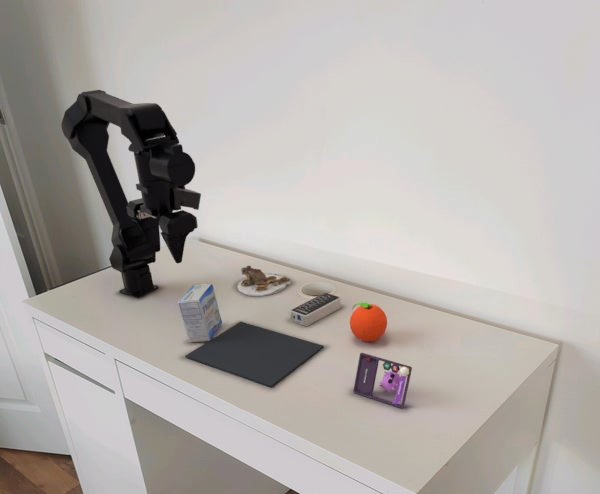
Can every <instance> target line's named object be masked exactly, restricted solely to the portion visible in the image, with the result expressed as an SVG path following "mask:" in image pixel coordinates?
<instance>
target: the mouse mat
mask: <svg viewBox="0 0 600 494" xmlns="http://www.w3.org/2000/svg"><path fill="white" fill-rule="evenodd" d="M324 347H325V346H324V344H323V345H322V344H319V343H316V342H313V341H309V340H306V339H302V338H299V337H296V336H291V335H288V334H285V333H281V332H279V331H274V330H271V329H268V328H264V327H261V326H257V325H254V324H251V323H248V322H244V321H239V322H238V323H236V324H235V325H233V326H231V327H229V328H228V329H226V330H225V331H222V332H221V333H220V334H218V335H216V336H215V337H212V339H211V341H206V342H205V343H204V344H202V345H200V346H198V347H197V348H195V349H194V350H192V351H190V352H189V353H187V354H186V355H185V356H184V357H185V358H186V359H188V360H192V361H194V362H197V363H200V364H203V365H205V366H208V367H211V368H214V369H217V370H220V371H222V372H226V373H228V374H231V375H234V376H237V377H240V378H242V379H245V380H248V381H251V382H254V383H257V384H259V385H262V386H265V387H268V388H273V387H275V386H276V385H277V384H278V383H280V382H282V380H283V379H285V378H286V377H287V376H289V375H290V374H291V373H292V372H294V371H295V370H297V369H298V368H299V367H300V366H301V365H303V364H304V363H306V362H307V361H309V360H310V359H311V358H312V357H314V356H315V355H316V354H318V352H320V351H321V350H323V349H324Z"/></svg>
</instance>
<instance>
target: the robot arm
mask: <svg viewBox="0 0 600 494" xmlns="http://www.w3.org/2000/svg"><path fill="white" fill-rule="evenodd" d="M76 97H77V98H76V100H75V102H73V104H72V105H70V106H69V107H68V108H67V109H66V110H65V111H64V114H63V118H62V121H61V125H60V126H61V131H62V133H63V136H64V137H65V139H67V141H68V143H69V144H70V147H71V149H72V150H73V151H74V152H75V153H76V154H78V155H79V156H80V157H81V158H83V159H84V160H85V162H86V164H87V167H88V169H89V171H90V174H91V176H92V179H93V181H94V183H95V185H96V188H97V191H98V193H99V195H100V198H101V200H102V202H103V205H104V207H105V210H106V212H107V214H108V217H109V219H110V222H111V224H112V231H111V232H112V233H111V238H110V240H111V244H112V247H113V248H112V251H111V253H110V256H109V258H108V260H109V263H110V265H111V268H112V269H113V270H115V271H117V272H120V275H121V279H122V283H123V288H121V289H119V294H123V295H126V296H129V297H132V298H136V299H139V298H141V297H144V296H146V295H149V294H150V293H152V292H154V291H156V290H158V289H159V285H156V284H154V280H153V276H152V272H151V269H150V264H152V263H153V264H154V263H156V258H157V257H156V256H157V255H156V254H157V253H158V252H160V251H161V237H162V239H163V241H164V243H165V245H166V247H167V249H168V251H169V252H170V255H171V256H172V258H173V260H174V262H175V263H176V264H180V263H182V262H183V257H184V250H185V245H186V240H187V237H188V236H189V234H190V233H193V232H194V231H195V229H198V228H199V225H198V219H197V216H195V215H194V214H193V213H192V212H188V211H186V210H184V209H182V207H184V208H188V209H189V208H191V209H193V210H200V204H201V197H202V193H201V192H197V191H195V190H192V189H188V188H186V186H187V185H189V184H190V183H191V182H192V180H193V179H194V177H195V174H196V163H195V162H194V159H193V158H192V156H191V155H190V154H189V153H187V152H185V151H184V149H183V145H182V144H180V140H179V138H178V136H177V135H178V133H177V131H176V130H175V128H174V127H173V125H172V124H171V122H170V120H169V118H168V116H167V114H166V113H165V111H164V110H163V108H162V107H161V106H160V105H159V104H158V103H156V102H154V103H153V102H141V103H140V102H139V103H132V102H130V101H127V100H125V99H122V98H119V97H116V96H114V95H112V94H109V93H107V92H106V91H105V90H101V89H94V90H87V91H82V92H81V93H78V95H77V96H76ZM110 124H112V125H114V126H116V127H118V128H120V134H121V135H122V136H124V137H125V138H126V139H127V140H129V142H130V144H129V146H128V147H127V148H128V151H129V152H132V153H133V157H134V162H135V168H136V173H137V178H138V182H139V183H136V184H135V187H136V190H137V191H140V193H141V198H136V199H133V200H129V201H128V199H127V196H126V194H125V192H124V189H123V186H122V184H121V181H120V179H119V176H118V174H117V171H116V169H115V167H114V164H113V162H112V160H111V158H110V155H109V153H108V146H109V141H110V135H109V132H108V128H109V126H110ZM160 231H161V232H160Z"/></svg>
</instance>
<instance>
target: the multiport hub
mask: <svg viewBox="0 0 600 494" xmlns="http://www.w3.org/2000/svg"><path fill="white" fill-rule="evenodd" d="M341 299H342V298H341V296H337V295H335V294H333V293H329V292H323V293H321V294H319V295H317V296H316V297H315V296H314V297H313V298H311V299H310V300H307V301H306V302H303V303H302V304H299V305H297V306H296V307H294V308H291V309H290V312H289V313H290V322H292V323H295V324H298V325H301V326H303V327H308V326H310V325H311V324H314V323H316V322H317V321H319V320H321V319H323V318H325V317H327V316H328V315H330V314H332V313H334V312H336V311H338V310H340V309H341V308H342V304H341V302H342V301H341Z"/></svg>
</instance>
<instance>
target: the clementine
mask: <svg viewBox="0 0 600 494" xmlns="http://www.w3.org/2000/svg"><path fill="white" fill-rule="evenodd" d="M356 306H358V307H356ZM355 307H356V308H355ZM354 308H355V309H354ZM353 310H354V311H353ZM352 311H353V312H352V314H351V316H350V318H349V325H350V326H349V327H350V331H351V333H352V335H354V337H355V338H357V339H358V340H360V341H363V342H367V343H368V342H374V341H377V340H378V339H380V338H381V337H382V336H384V335H385V332H386V331H387V327H388V317H387V315H386V313H385V311H384V310H383V309H382V308H381V307H380V306H378V305H376V304H374V303H368V302H358V303H356V304H354V305H353V306H352Z"/></svg>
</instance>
